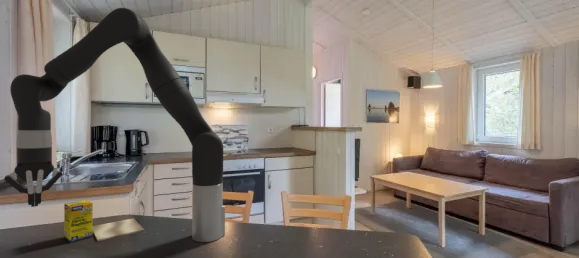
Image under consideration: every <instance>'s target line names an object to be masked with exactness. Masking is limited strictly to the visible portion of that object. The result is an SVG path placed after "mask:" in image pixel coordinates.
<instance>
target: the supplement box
mask: <svg viewBox="0 0 579 258" xmlns="http://www.w3.org/2000/svg"><path fill="white" fill-rule="evenodd" d="M93 205H94V204H93V202H91V201H89V200H88V199H83V200H78V201H72V202H67V203H66V202H65V203H64V207H63V208H64V209H63V211H64V212H63V214H64V215H63V217H64V218H63V223H64V224H63V229H64V230H63V234H64V235H63V238H64V239H65V240H67V241H68V242H69V243H70V244H71V243H74V242H78V241H82V240H84V239H90V238H93V231H92V226H93V217H94V216H93V213H94V212H93Z"/></svg>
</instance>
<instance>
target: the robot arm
mask: <svg viewBox="0 0 579 258" xmlns="http://www.w3.org/2000/svg"><path fill="white" fill-rule="evenodd" d="M121 43H124V44H125V45H126V46H127V47H128V48H129V49H130V50H131V52H132V53H133V55H135V57H136V59H137V60H138V61H139V64H141V65H140V66H141V67H142V69H143V71H144V75H145V78H146V80H147V84H148V86H149V87H150V89H151V91H152V92H153V94H154V96H155V97H156V99H157V100H158V102H159V103H160V105H161V106H162V107H163V108H164V109H165V111H166V112H167V113H168V114H169V115H170V116H171V118H173V119H174V120H175V122H176V123H177V124H178V125H179V126H180V128H182V130H183V132H184V133H185V135H186V137H187V138H188V141H189V143H190V144H191V176H192V202H191V203H192V206H191V207H192V208H191V210H192V212H191V213H192V218H191V219H192V220H191V221H192V223H191V224H192V227H191V228H192V229H191V235H192V236H191V238H192V240H193V241H195V242H199V243H209V242H214V241H217V240H219V239H221V238H222V237H223V236H226V207H225V206H226V205H224V204H223V198H224V197H223V194H224V193H223V192H224V190H223V188H224V187H223V184H224V183H223V182H224V181H223V180H224V178H223V177H224V144H223V141H222V139H221V138H220V136H218V134H217V133H216V132H215V131H214V130H213V128H212V127H211V126H210V125H209V123H208V122H207V121H206V119H205V118H204V117H203V115H202V113H201V112H200V109H199V107H198V106H197V103H196V101H195V99H194V97H193V95H192V93H191V92H190V90H189V88H188V86H187V85H186V83H185V82H184V80H183V79H182V77H181V76H180V74H179V73H178V71H177V70H176V69H175V68H174V66H173V65H172V63H171V62H170V60H168V58H167V57H166V55H164V53H163V52H162V50H161V48H160V47H159V45H158V42H157V41H156V38H155V37H154V34H153V33H152V30H151V29H150V27H149V25H148V23H147V22H146V21H145V19H143V18H142V17H141V16H140V15H139V14H138V13H136V12H135V11H133V10H132V9H130V8H127V7H118V8H115V9H113V10H112V11H110V12H109V13H108V14H107V15H106V16H104V18H103V19H102V20H101V21H99V23H98V24H96V25H95V27H94V28H92V29H91V30H90V31H88V33H87V34H86V35H84V36H83V37H82V38H81V39H80V40H79V41H77V42H76V43H75V44H73V45H72V46H70V47H69V48H67V49H65V51H63V52H62V53H60V54H58V55H57V56H56V57H54V58H52V59H51V60H50V61H48V62H47V63H46V64H45V65H44V67H43V70H44V73H45V74H44V75H41V76H37V75H36V76H35V75H31V74H19V75H17V76H16V77H14V78H13V80H12V81H11V83H10V90H9V91H10V95H11V96H10V97H11V99H12V102H13V105H14V108H15V111H16V113H17V116H18V117H17V135H16V166H15V167H14V170H13V172H10V173H9V174H6V175H5V177H3V179H4V181H5V182H6V183H8V184H9V185H10V186H11V187H13V188H14V189H15V190H16V191H18V192H19V193H20V194H27V205H28V206H30V207H31V208H33V207H38V206H39V205H40V204H41V203H42V193H43V192H45V191H49V190H50V189H51V188H52V187H53V185H55V183H56V182H57V181H58V180H59V179H60V178H61V177H62V176H63V172H62V171H60V170H58V169H56V168H55V166H54V164H53V137H52V129H51V128H52V122H51V121H52V117H51V113H50V112H49V111H48V110H46V109H43V108H42V105H41V104H42V103H41V102H47V101H51V100H53V99H55V98H56V97H58V95H60V94H61V92H62V91H63V90H65V88H66V87H67V86H68V85H69V83H70V82H72V81H74V80H75V79H77V78H78V77H80V76H82V75H83V74H84V73H86V72H87V71H88V70H90V69H91V67H92V66H94V64H95V63H96V61H97V60H98V59H99V58H100V57H101V56H102V55H103V54H104V53H106V51H108V50H110V49H111V48H113V47H114V46H117V45H119V44H121ZM50 174H51V178H50V179H49V180H48V182H46V184H45V185H43V183H44V182H43V181H44V180H46V179H47V178H48V176H49V175H50ZM17 176H18V177H19V178H20V179H21V180H22V181H24V182H26V185H27V186H26V187H24V186H23V185H22V184H21V183H20V182H18V180H17V179H18V177H17ZM34 182H36V187H35V189H34ZM34 190H35V191H34Z"/></svg>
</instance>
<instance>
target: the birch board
mask: <svg viewBox="0 0 579 258" xmlns="http://www.w3.org/2000/svg"><path fill="white" fill-rule="evenodd" d="M144 231H145V229H144V228H143V227H142V225H140V224H139V222H137V221H136V219H135V218H129V219H123V220H118V221H117V220H116V221H113V222H108V223H102V224H97V225H92V234H93V235H94V237H95V239H96V241H97V242H99V241H100V242H101V241H104V240H105V241H106V240H109V239H113V238H118V237H122V236H127V235H131V234H137V233H140V232H141V233H142V232H144Z"/></svg>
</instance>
